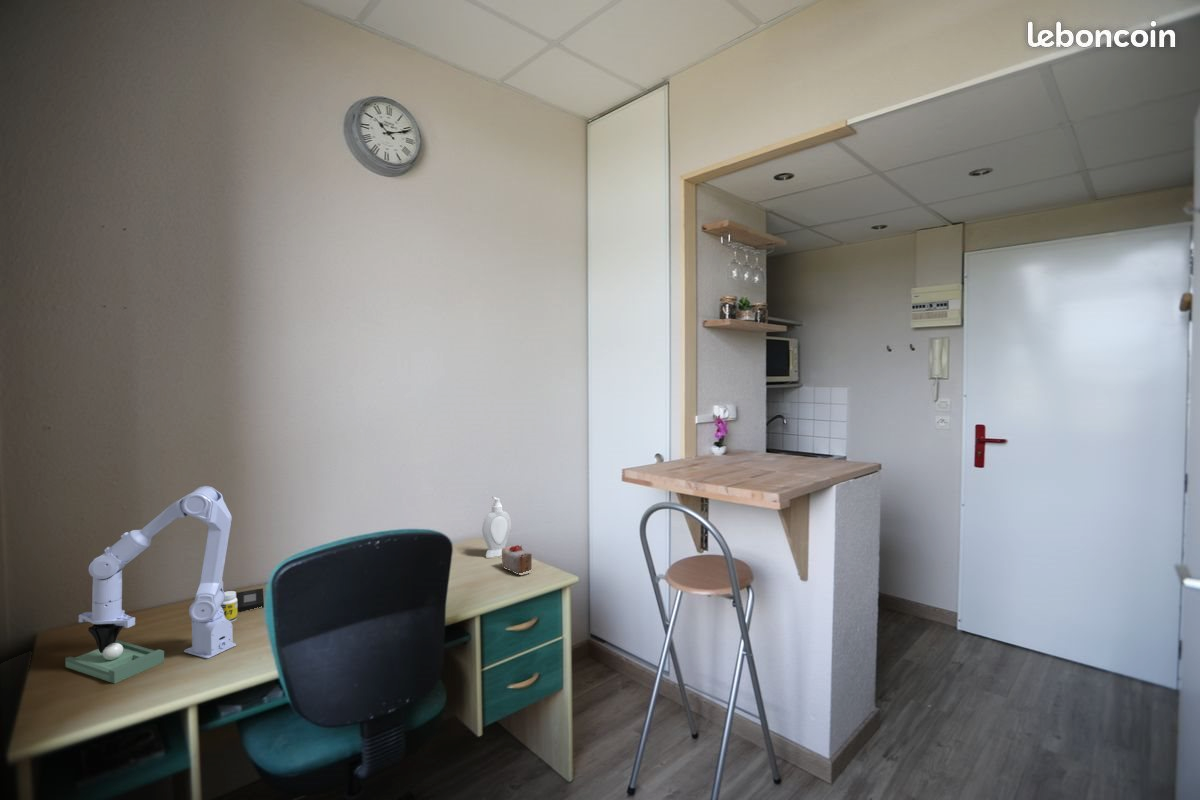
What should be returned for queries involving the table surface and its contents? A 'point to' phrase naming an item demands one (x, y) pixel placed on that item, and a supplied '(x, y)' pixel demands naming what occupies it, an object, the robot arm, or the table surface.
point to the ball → (112, 651)
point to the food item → (516, 559)
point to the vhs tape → (250, 600)
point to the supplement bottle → (230, 606)
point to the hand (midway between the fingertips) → (106, 651)
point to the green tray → (116, 662)
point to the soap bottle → (496, 529)
